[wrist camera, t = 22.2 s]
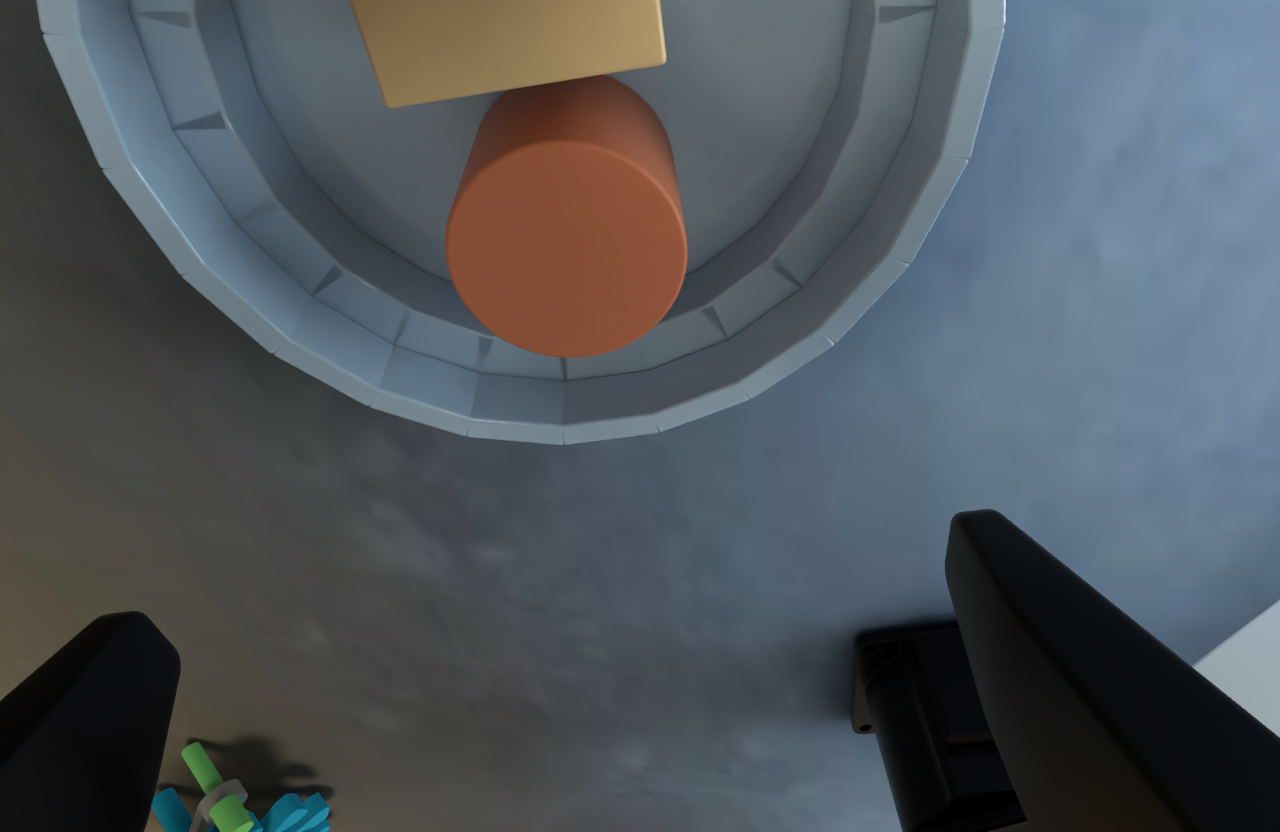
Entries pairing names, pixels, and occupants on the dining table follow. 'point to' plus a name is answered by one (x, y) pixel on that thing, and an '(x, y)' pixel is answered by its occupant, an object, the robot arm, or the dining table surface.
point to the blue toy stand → (234, 805)
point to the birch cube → (502, 43)
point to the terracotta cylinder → (568, 219)
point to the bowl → (435, 161)
